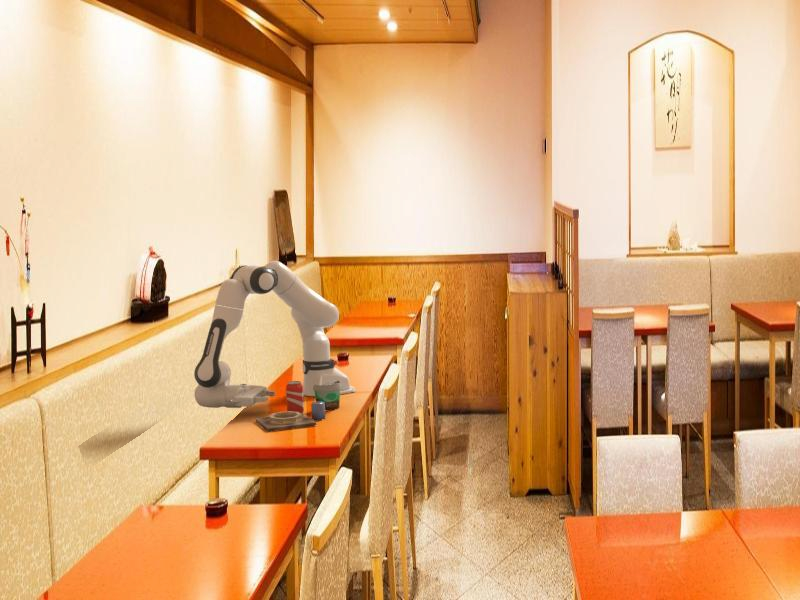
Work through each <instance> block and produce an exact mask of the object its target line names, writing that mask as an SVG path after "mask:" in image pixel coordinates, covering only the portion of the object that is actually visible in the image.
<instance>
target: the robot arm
mask: <svg viewBox="0 0 800 600" xmlns="http://www.w3.org/2000/svg"><path fill="white" fill-rule="evenodd" d="M272 291H273V292H274V293H275V295H277V297H279V298H280V299H281V300H282V301H283V303H285V304H286V305H287V306H288V307H290V308H291V310H290V314H291V317H292V319H293V320H294V322H295V323H296V325H297V328H298V331H299V333H300V337H301V343H302V353H303V360H302V373H303V380H302V385H303V396H309V397H315V391H314V390H313V387H314V385H324V384H333V383H337V380H338V381H340V383H341V385H342V388H340V395H345V394H349V393H355V392H356V388H355V387H354V386H353V385H351V383H350V380H349V377H348V375H347V374H346V373H345V372H342V371H341V370H340V369H338V368H337V367H336V366H338V365H339V361H338V360H337V359H333V358H331V348H330V347H331V346H330V345H331V344H330V339H329V338H328V336H327V335H326V333H325V331H324V329H325V328H326V329H327V328H330V327H333V326H335V325H336V324H337V322H338V321H339V318H340V312H339V308H338V307H337V306H336V305H335V304H334V303H332V302H330V301H328V300H327V299H325V298H324V297H323V296H321V295H320V294H319V293H317V292H316V291H315V290H314V289H312V288H310V286H308V285H307V284H306V283H305V282H303V280H301V279H300V277H299V276H297V274H296V273H294V271H293V270H292V269H290V268H289V267H288V266H287V265H285V264H283V263H282V262H281V261H279V260H272V261H269V262H267V263H266V264H265V265H264V266H259V265H246V264H245V265H240V266H238V267H236V268H235V269H234V270H233V272H232V273H231V276H230V278H229V279H225V280H224V281H222V283H221V285H220V288H219V290H218V292H217V294H216V295H217V297H216V300H215V303H214V304H215V305H214V309H213V314H212V319H211V323H210V327H209V329H208V333H207V337H206V342H205V343H204V344H205V345H204V349H203V353H202V356H201V359H200V360H199V362H198V363H197V365H196V366H195V368H194V374H193V376H194V379H195V381H196V383H197V386H196V387H195V390H194V399H195V401H196V403H197V404H198V405H199V406H200V407H204V408H211V409H217V408H218V409H220V408H223V407H224V408H228V409H241V408H242V407H245V408H247V407H250V408H251V407H252V406H254V405H255V404H258V403H267V402H268V401H269V397H275V396H276V391H274V390H268V389H267V386H263V385H252V384H251V385H250V384H249V385H248V384H247V383H241V384H230V382H231V375H232V372H231V368H230V366H229V365H228V364H227V362H224V361H220V357H221V353H222V349H223V346H224V342H225V340H226V338H227V337H228V335H230V334H231V332H233V331H234V330H235V329H237V328H238V327H239V326H240V323H241V321H242V318H243V314H244V309H245V302H246V300H247V297H248V296H249V295H250V294H251V295H255V294H256V295H265V294H268V293H270V292H272Z"/></svg>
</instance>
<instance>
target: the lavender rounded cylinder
mask: <svg viewBox="0 0 800 600" xmlns="http://www.w3.org/2000/svg"><path fill="white" fill-rule="evenodd" d="M310 404H311V405H310V406H311V407H310V408H311V419H314V421H323V420H322V419H324V420H325V419H326V411H325V402H316V401H313V402H311V403H310Z"/></svg>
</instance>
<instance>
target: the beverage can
mask: <svg viewBox="0 0 800 600" xmlns="http://www.w3.org/2000/svg"><path fill="white" fill-rule="evenodd" d="M285 391H286V392H285V393H286V397H285V398H286V411H293V412H299V413H304V412H305V406H304V405H305V403H304V395H303V383H302V381H299V380H292V381H288V382H287V384H286V386H285Z"/></svg>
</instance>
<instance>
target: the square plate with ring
mask: <svg viewBox="0 0 800 600" xmlns="http://www.w3.org/2000/svg"><path fill="white" fill-rule="evenodd" d="M254 420H255V421H256V422H255V421H254V422H255V423H257V425H259V426H260V427H261V428H263V430H265V431H266V432H267V431H268V432H267V433H270V432H271V431H272V432H277V431H276V430H279V431H284V430H283V429H287V430H293V429H292V428H295V429H301V428H300V427H303V428H309V427H308V426H311V427H315V426H314V425H317V422H316V420H312V417H309V416H308V415H307V414H305V413H304V412H302V413H299V412H293V411H287V410H285V411H277V412H273V413H271V414H268V416H263V417H256V418H254Z"/></svg>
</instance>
